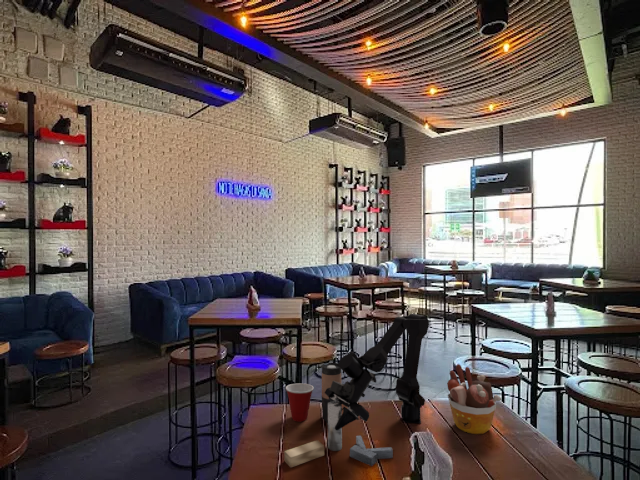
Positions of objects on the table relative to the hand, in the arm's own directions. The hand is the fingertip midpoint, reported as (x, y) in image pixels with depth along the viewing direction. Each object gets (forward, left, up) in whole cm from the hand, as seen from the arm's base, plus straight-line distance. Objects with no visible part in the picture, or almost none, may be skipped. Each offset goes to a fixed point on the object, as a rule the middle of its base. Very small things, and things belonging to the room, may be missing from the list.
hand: (331, 426), depth 122 cm
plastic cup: (+15, -19, -7) cm, 25 cm away
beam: (+7, +7, -7) cm, 12 cm away
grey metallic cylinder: (-1, -1, -7) cm, 7 cm away
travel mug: (+3, -21, -7) cm, 22 cm away
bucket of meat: (-48, -23, -7) cm, 54 cm away
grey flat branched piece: (-12, +2, -7) cm, 14 cm away
